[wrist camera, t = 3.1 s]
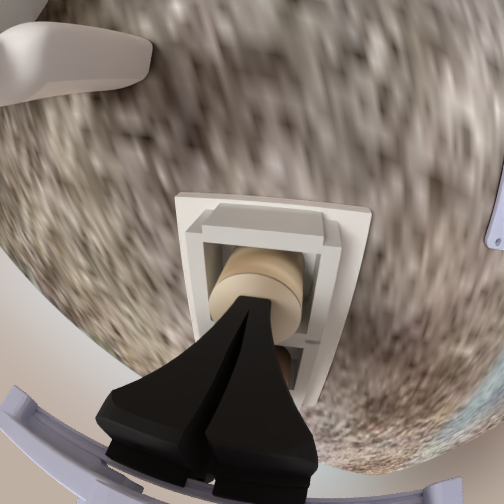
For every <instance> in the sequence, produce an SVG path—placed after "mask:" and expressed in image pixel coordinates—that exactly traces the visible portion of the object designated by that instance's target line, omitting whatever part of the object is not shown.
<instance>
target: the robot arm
mask: <svg viewBox="0 0 504 504" xmlns="http://www.w3.org/2000/svg"><path fill="white" fill-rule="evenodd" d="M497 239H498V240H497ZM496 240H497V242H496ZM495 242H496V243H495ZM485 244H486V245H487V246H488V247H489V248H492V249H497V250H503V251H504V166H503V172H502V177H501V181H500V186H499V190H498V195H497V199H496V203H495V206H494V210H493V214H492V217H491V220H490V224H489V227H488V230H487V233H486V236H485ZM271 303H272V302H271V301H270V300H269V299H263V298H255V297H247V296H238V297H237V298H236V300H235V301H234V302H233V304H232V305H231V306H230V307H229V309H228V310H227V311H226V312H225V313H224V314H223V316H222V317H221V318H220V319H219V320H218V321H217V322H216V323H215V324H214V325H213V326H212V327H211V328H210V329H209V330H208V331H207V332H206V333H205V334H204V335H203V336H202V337H201V338H200V339H199V340H198V341H196V342H195V343H194V344H193V345H192V346H191V347H189V348H188V349H187V350H186V351H184V352H183V353H182V354H180V355H179V356H178V357H176V358H175V359H173V360H172V361H170V362H169V363H167V364H166V365H164V366H162V367H161V368H159V369H157V370H156V371H154V372H152V373H150V374H148V375H146V376H144V377H143V378H141V379H139V380H137V381H134V382H132V383H130V384H127V385H125V386H123V387H120V388H117V389H115V390H112V391H111V393H110V394H109V395H108V397H107V398H106V400H105V402H104V403H103V405H102V407H101V408H100V410H99V412H98V414H97V416H96V421H97V424H98V425H99V426H100V427H101V428H102V429H103V430H104V431H105V432H106V433H107V434H108V435H109V436H110V437H111V438H112V441H111V443H110V445H109V447H106V446H104V445H102V444H100V443H98V442H97V441H94V440H93V439H91V438H89V437H87V436H85V435H84V434H82V433H80V432H78V431H76V430H75V429H73V428H71V427H70V426H68V425H66V424H64V423H63V422H61V421H60V420H58V419H56V418H55V417H54V416H52V415H51V414H49V413H48V412H46V411H44V410H43V409H42V408H40V407H39V406H38V405H37V403H36V402H35V401H34V400H33V399H32V398H31V397H30V396H29V395H27V394H26V393H25V392H24V391H22V390H21V389H20V388H18V387H17V386H16V385H14V386H13V388H12V389H11V391H10V392H9V393H8V395H7V396H6V398H5V400H4V401H3V402H2V404H1V405H0V429H1V431H2V432H3V433H4V434H5V435H6V436H7V437H9V439H10V440H12V442H13V443H14V444H15V445H17V447H19V448H20V449H21V450H22V451H23V452H24V453H25V454H26V455H27V456H28V457H29V458H30V459H31V460H32V461H33V462H35V463H36V464H37V465H38V466H39V467H40V468H42V469H43V470H44V471H45V472H46V473H48V474H49V475H50V476H51V477H53V478H54V479H55V480H56V481H58V482H59V483H60V484H62V485H63V486H64V487H66V488H67V489H68V490H70V491H71V492H73V493H74V494H76V495H77V496H78V497H79V498H78V501H77V503H76V504H168V503H165V502H163V501H160V500H157V499H155V498H152V497H149V496H147V495H144V494H142V492H143V489H144V488H143V487H142V486H140V485H138V484H136V483H134V482H133V481H131V480H129V479H128V478H127V477H125V476H124V475H122V474H121V473H119V472H117V471H115V470H113V469H111V468H109V467H108V465H111V466H113V467H115V468H117V469H119V470H121V471H123V472H125V473H128V474H130V475H132V476H135V477H137V478H139V479H142V480H144V481H147V482H149V483H152V484H154V485H157V486H160V487H163V488H166V489H168V490H172V491H174V492H178V493H181V494H184V495H188V496H191V497H195V498H198V499H202V500H205V501H209V502H214V503H218V504H463V486H462V477H461V476H458V477H455V478H452V479H448V480H444V481H440V482H437V483H434V484H431V485H429V486H427V487H425V488H424V489H420V490H416V491H410V492H404V493H397V494H390V495H382V496H372V497H360V498H334V499H333V498H332V499H331V498H306V497H307V490H308V488H309V486H310V479H311V476H312V475H313V474H314V472H315V471H316V470H317V468H318V455H317V450H316V446H315V443H314V439H313V435H312V433H311V432H310V430H309V428H308V427H307V425H306V423H305V422H304V420H303V418H302V416H301V414H300V413H299V411H298V409H297V407H296V405H295V403H294V400H293V398H292V396H291V394H290V391H289V389H288V387H287V384H286V382H285V379H284V376H283V374H282V371H281V368H280V364H279V361H278V357H277V354H276V350H275V345H274V341H273V335H272V329H271V319H270V317H271ZM107 464H108V465H107ZM214 479H215V480H216V481H215V484H214V485H212V484H208V483H210V482H211V481H213V480H214Z"/></svg>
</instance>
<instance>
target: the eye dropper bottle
mask: <svg viewBox="0 0 504 504" xmlns="http://www.w3.org/2000/svg"><path fill="white" fill-rule="evenodd" d="M152 50H153V47H152V44H151V42H150V41H148V40H146V39H144V38H142V37H139V36H135V35H131V34H127V33H122V32H118V31H113V30H108V29H103V28H97V27H91V26H85V25H78V24H69V23H59V22H27V23H23V24H19V25H16V26H14V27H11V28H9V29H7V30H6V31H4V32H2V33H1V34H0V107H1V106H8V105H13V104H17V103H22V102H27V101H31V100H37V99H42V98H47V97H54V96H60V95H67V94H75V93H83V92H94V91H106V90H115V89H120V88H124V87H127V86H130V85H133V84H135V83H137V82H139V81H141V80H143V79H144V78H145V77H146V76H147V74H148V72H149V67H150V62H151V56H152Z"/></svg>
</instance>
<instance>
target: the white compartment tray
mask: <svg viewBox="0 0 504 504" xmlns="http://www.w3.org/2000/svg"><path fill="white" fill-rule="evenodd" d="M175 205H176V215H177V224H178V232H179V241H180V249H181V256H182V264H183V271H184V278H185V284H186V291H187V297H188V303H189V309H190V315H191V321H192V326H193V332H194V337H195V342H196V341H198V340H199V339H200V338H201V337H202V336H203V335H204V334H205V333H206V332H207V331H208V330H209V329H210V328H211V327H212V326H213V325H214V324H215V322H214V320H213V319H212V317H211V314H210V311H209V298H210V295H211V293H212V291H213V289H214V287H215V285H216V283H217V281H218V279H219V277H220V275H221V273H222V271H223V269H224V267H225V265H226V263H227V261H228V259H229V257H230V255H231V253H232V251H233V249H234V247H235V245H238V246H248V247H258V248H268V249H277V250H287V251H296V252H302V254H303V257H304V262H305V269H304V285H303V299H302V312H301V321H300V325H299V327H298V329H297V330H296V331H295V333H294V334H293V335H292V336H290V337H289V338H287V339H286V340H284V341H282V342H279V343H276V344H274V345H280V346H284V347H285V348H286V349H287V350H288V352H289V353H290V356H291V367H290V375H289V383H288V389H289V391H290V394H291V396H292V398H293V400H294V403H295V405H296V407H297V409H298V411H299V412H300V409H301V406H302V405H303V406H315V405H316V403H317V400H318V398H319V395H320V393H321V390H322V388H323V385H324V382H325V380H326V377H327V374H328V372H329V369H330V366H331V363H332V361H333V358H334V355H335V352H336V349H337V346H338V343H339V340H340V337H341V334H342V331H343V328H344V324H345V321H346V318H347V314H348V311H349V308H350V304H351V301H352V297H353V293H354V290H355V286H356V282H357V278H358V274H359V270H360V266H361V262H362V258H363V254H364V249H365V245H366V240H367V236H368V231H369V226H370V221H371V216H372V213H371V211H370V209H369V208H367V207H359V206H352V205H343V204H335V203H326V202H317V201H307V200H297V199H286V198H275V197H262V196H249V195H234V194H216V193H195V192H180V193H179V194H178V195H176V196H175Z"/></svg>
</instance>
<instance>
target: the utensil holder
mask: <svg viewBox="0 0 504 504" xmlns="http://www.w3.org/2000/svg"><path fill="white" fill-rule="evenodd" d="M48 1H49V0H0V34H1V33H2V32H4V31H6V30H7V29H9V28H11V27H14V26H16V25H19V24H23V23H27V22H35V21H36V19H37V18H38V16H39V15H40V13H41V12H42V10H43V9H44V7H45V6H46V4H47V2H48Z"/></svg>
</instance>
